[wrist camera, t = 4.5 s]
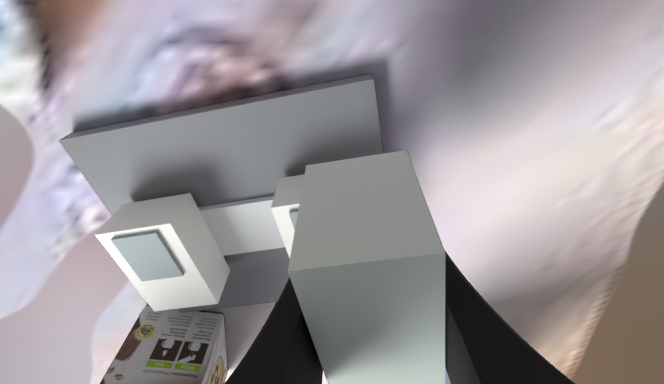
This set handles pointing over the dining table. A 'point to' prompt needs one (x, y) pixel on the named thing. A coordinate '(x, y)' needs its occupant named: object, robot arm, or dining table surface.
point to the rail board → (219, 188)
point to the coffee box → (172, 350)
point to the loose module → (370, 272)
